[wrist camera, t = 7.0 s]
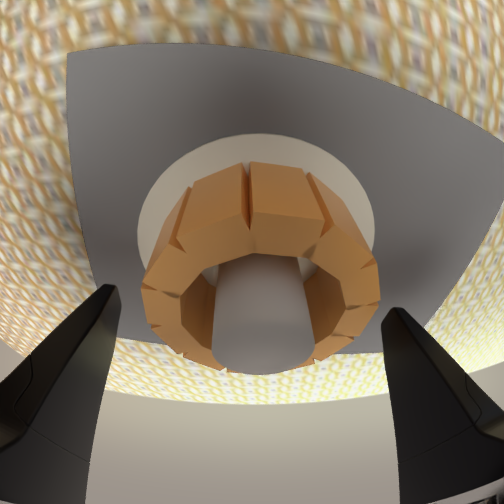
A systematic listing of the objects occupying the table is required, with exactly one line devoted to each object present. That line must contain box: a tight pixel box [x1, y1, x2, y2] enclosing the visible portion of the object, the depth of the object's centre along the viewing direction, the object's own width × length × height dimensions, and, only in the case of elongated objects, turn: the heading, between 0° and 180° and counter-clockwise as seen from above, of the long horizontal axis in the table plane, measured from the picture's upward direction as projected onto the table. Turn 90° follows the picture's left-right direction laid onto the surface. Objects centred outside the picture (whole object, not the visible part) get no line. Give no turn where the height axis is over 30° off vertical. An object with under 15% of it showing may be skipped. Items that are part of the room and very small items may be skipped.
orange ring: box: [141, 161, 381, 373], centre depth 9 cm, size 7×7×3 cm
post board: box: [66, 43, 504, 375], centre depth 10 cm, size 18×14×6 cm
